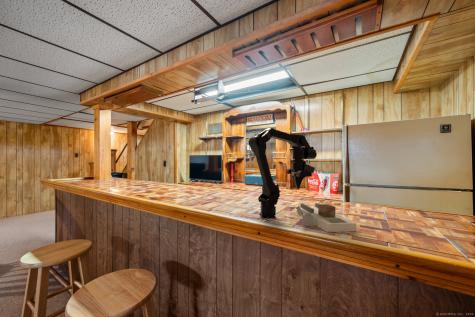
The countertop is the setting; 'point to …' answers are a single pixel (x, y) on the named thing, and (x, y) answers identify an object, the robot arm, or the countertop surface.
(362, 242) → the countertop surface
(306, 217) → the lighter
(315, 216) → the pale grey tray
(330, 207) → the block
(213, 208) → the countertop surface
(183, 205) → the countertop surface
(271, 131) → the robot arm
